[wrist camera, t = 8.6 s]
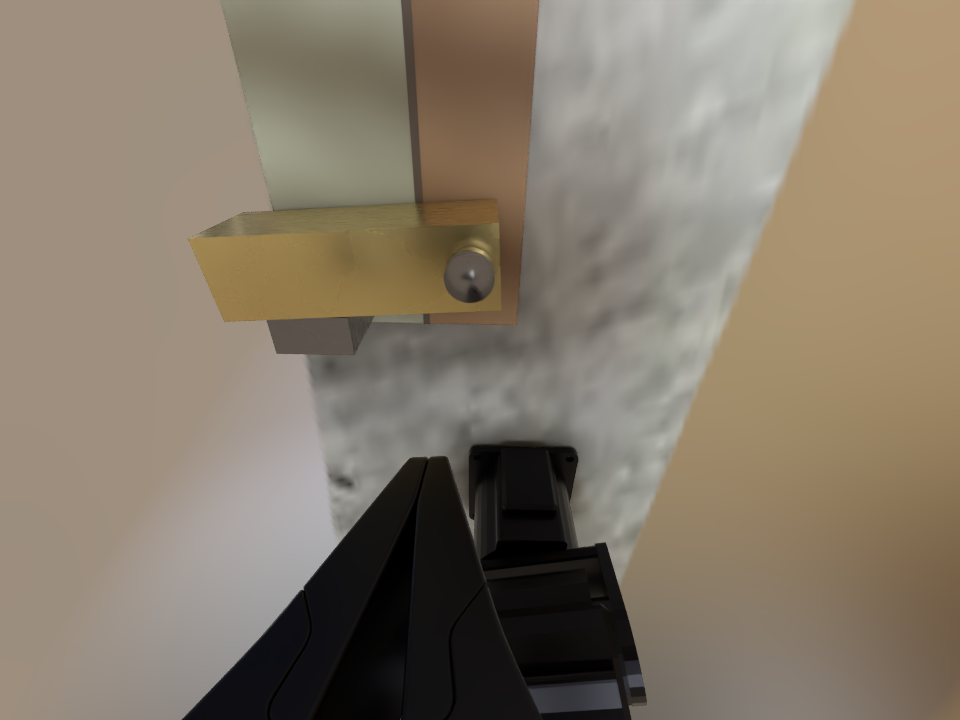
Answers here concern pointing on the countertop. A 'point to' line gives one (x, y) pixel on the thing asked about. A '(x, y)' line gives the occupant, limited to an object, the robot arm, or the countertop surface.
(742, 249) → the countertop surface
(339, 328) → the stop block
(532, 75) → the door board
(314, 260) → the latch bar
